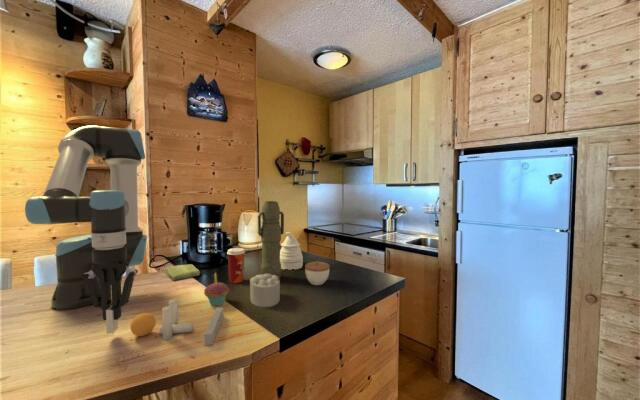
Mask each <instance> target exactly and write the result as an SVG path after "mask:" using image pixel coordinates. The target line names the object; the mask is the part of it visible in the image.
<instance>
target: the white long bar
mask: <svg viewBox="0 0 640 400" xmlns="http://www.w3.org/2000/svg"><path fill="white" fill-rule="evenodd" d="M223 317H224V307H222V306H221V307H216V308H215V310H214V312H213V314H212V317H211V318H210V320H209V323H208V326H207V328H206V330H205V332H204V334H203V339H204V340H203V341H204V343H203V344H204V345H203V346H213V344H214V342H215V339H216V337H217V336H216V335H217V333H218V331H219V328H220V325H221V322H222V320H223Z"/></svg>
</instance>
